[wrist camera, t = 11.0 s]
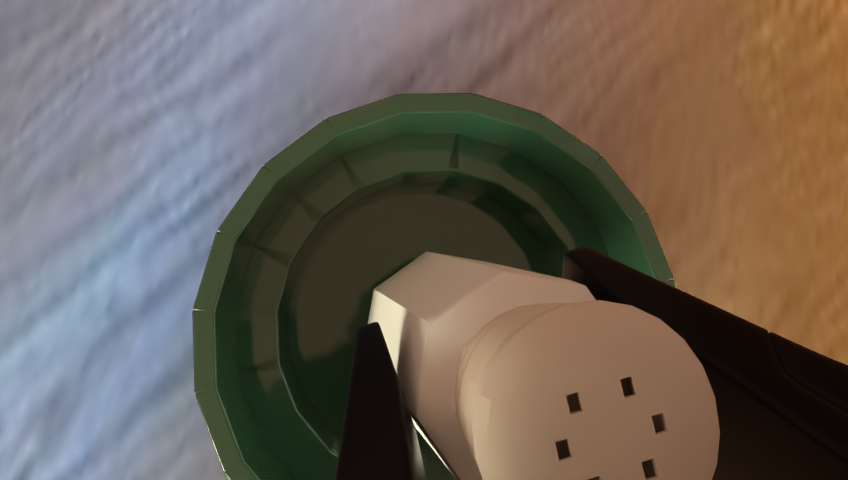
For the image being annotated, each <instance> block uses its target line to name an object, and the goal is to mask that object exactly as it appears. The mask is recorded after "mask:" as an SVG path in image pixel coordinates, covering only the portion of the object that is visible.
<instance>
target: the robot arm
mask: <svg viewBox="0 0 848 480" xmlns="http://www.w3.org/2000/svg"><path fill="white" fill-rule="evenodd" d="M562 278H563V279H567V280H571V281H574V282H577V283H579V284H582V285H585V286H586V287H587V288H588V290H589V291H590V292H591V294H592V295H593V297H594V298H595V299H596V300H602V301H608V302H614V303H620V304H626V305H632V306H634V307H636V308H638V309H640V310H642V311H644V312H646V313H649V314H651V315H653V316H655V317H657V318H659V319H661V320H662V321H663V322H664V323H665V324H667V325H668V326H669V327H670V328H671V329H672V330H674V331H675V332H676V333H677V334H678V335H680V336H681V337H682V338H683V339H684V340H685V341H686V343H687V344H688V346H689V347H690V348H691V350H692V351H693V353H694V354H695V355H696V357H697V358H698V360H699V361H700V362H701V364H702V365H703V367H704V370H705V372H706V375H707V378H708V380H709V383H710V385H711V388H712V390H713V393H714V395H715V400H716V407H717V415H718V422H719V429H720V438H719V449H718V459H717V466H716V469H715V472H714V475H713V478H712V480H848V365H846V364H843V363H841V362H838V361H836V360H833V359H831V358H828V357H826V356H824V355H821V354H819V353H817V352H815V351H812V350H810V349H808V348H806V347H803V346H801V345H799V344H796V343H794V342H792V341H790V340H788V339H785V338H783V337H781V336H779V335H777V334H775V333H772V332H771V333H768V331H767V330H766V329H763V328H761V327H759V326H757V325H755V324H753V323H750V322H748V321H746V320H744V319H742V318H740V317H737V316H735V315H733V314H731V313H729V312H727V311H724V310H722V309H720V308H718V307H716V306H714V305H711V304H709V303H707V302H705V301H703V300H701V299H698V298H696V297H694V296H692V295H690V294H688V293H685V292H683V291H681V290H679V289H677V288H675V287H672V286H670V285H668V284H666V283H664V282H662V281H659V280H657V279H655V278H653V277H651V276H649V275H646V274H644V273H642V272H640V271H638V270H636V269H633V268H631V267H629V266H627V265H625V264H623V263H620V262H618V261H616V260H614V259H612V258H610V257H607V256H605V255H603V254H601V253H599V252H597V251H594V250H592V249H590V248H588V247H584V246H582V247H578V248H575V249H573V250H570V251H567V252H566V253H565V254H564V256H563V272H562ZM335 480H426V475H425V470H424V466H423V461H422V456H421V452H420V447H419V442H418V438H417V434H416V430H415V426H414V423H413V420H412V417H411V415H410V413H409V411H408V409H407V406H406V401H405V397H404V394H403V391H402V388H401V385H400V382H399V379H398V376H397V373H396V370H395V367H394V365H393V362H392V359H391V356H390V353H389V350H388V347H387V344H386V341H385V339H384V336H383V333H382V330H381V327H380V324H379V323H378V322H373V323H370V324H367V325H365V326H362V327H360V328H359V329H358V330H357V334H356V340H355V347H354V353H353V360H352V367H351V373H350V380H349V387H348V393H347V400H346V407H345V414H344V420H343V427H342V434H341V440H340V447H339V454H338V460H337V467H336V474H335Z"/></svg>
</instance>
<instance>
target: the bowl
mask: <svg viewBox="0 0 848 480" xmlns="http://www.w3.org/2000/svg"><path fill="white" fill-rule="evenodd" d="M582 246H584V247H588V248H590V249H592V250H594V251H597V252H599V253H601V254H603V255H605V256H607V257H610V258H612V259H614V260H616V261H618V262H620V263H623V264H625V265H627V266H629V267H631V268H633V269H636V270H638V271H640V272H642V273H644V274H646V275H649V276H651V277H653V278H655V279H657V280H659V281H662V282H664V283H666V284H668V285H670V286H672V287H675V286H674V280H672V279H673V276H672V273H671V271H670V268H669V266H668V263H667V261H666V258H665V256H664V253H663V251H662V248H661V246H660V243H659V241H658V238H657V236H656V233H655V231H654V228H653V226H652V223H651V221H650V218H649V216H648V214H647V213H646V210H645V209H644V208H643V206H642V205H641V204H640V203H639V201H638V200H637V199H636V198H635V196H634V195H633V194H632V193H631V191H630V190H629V189H628V187H627V186H626V185H625V184H624V182H623V181H622V180H621V179H620V177H619V176H618V175H617V174H616V172H615V171H614V170H613V169H612V167H611V166H610V165H609V164H608V162H607V161H606V160H605V159H604V157H602V156H601V155H600V154H599V153H598V152H596V151H595V150H593V149H592V148H590V147H589V146H587V145H586V144H585V143H583V142H582V141H580V140H579V139H577V138H576V137H574V136H573V135H571V134H570V133H568V132H567V131H566V130H564V129H563V128H561V127H560V126H558V125H557V124H555V123H554V122H552V121H551V120H549V119H548V118H547V117H545V116H543V115H542V114H540V113H536V112H533V111H530V110H527V109H523V108H520V107H517V106H513V105H510V104H507V103H504V102H500V101H497V100H494V99H491V98H487V97H484V96H481V95H477V94H472V93H432V94H399V95H394V96H391V97H388V98H385V99H382V100H379V101H376V102H373V103H370V104H367V105H364V106H361V107H358V108H355V109H352V110H349V111H346V112H343V113H340V114H337V115H334V116H332V117H329V118H327V120H323V121H322V122H321V123H319V124H318V125H317V126H315V127H314V128H313V129H311V130H310V131H309V132H307V133H306V134H305V135H303V136H302V137H300V138H299V139H298V140H296V141H295V142H294V143H292V144H291V145H290V146H288V147H287V148H286V149H284V150H283V151H282V152H280V153H279V154H278V155H276V156H275V157H274V158H272V159H271V160H269V161H268V162H267V163H265V165H264V166H263V167H262V168H261V169H260V170H259V172H258V173H257V175H256V176H255V178H254V179H253V180H252V182H251V183H250V185H249V186H248V187H247V189H246V190H245V192H244V193H243V194H242V196H241V197H240V199H239V200H238V202H237V203H236V204H235V206H234V207H233V209H232V210H231V211H230V213H229V214H228V216H227V217H226V218H225V220H224V221H223V223H222V224H221V226H220V227H219V228H218V232H217V233H216V235H215V238H214V241H213V244H212V248H211V251H210V254H209V258H208V261H207V264H206V267H205V271H204V274H203V277H202V280H201V284H200V287H199V290H198V293H197V297H196V300H195V303H194V307H193V310H194V311H193V312H192V316H193V354H194V391H195V393H196V399H197V401H198V404H199V407H200V410H201V412H202V415H203V418H204V420H205V423H206V426H207V428H208V431H209V434H210V436H211V439H212V442H213V444H214V447H215V450H216V453H217V455H218V458H219V461H220V463H221V466H222V469H223V471H225V475H226V476H227V477H228V478H229V480H335V474H336V467H337V460H338V454H339V447H340V440H341V434H342V427H343V420H344V414H345V407H346V400H347V393H348V387H349V380H350V373H351V367H352V360H353V353H354V347H355V340H356V334H357V330H358V329H359V328H360V327H362V326H365V325H367V324H368V319H369V313H370V308H371V302H372V296H373V290H374V288H376V287H377V286H379V285H380V284H381V283H383V282H384V281H386V280H387V279H388V278H390V277H391V276H393V275H394V274H395V273H397V272H398V271H400V270H401V269H402V268H404V267H405V266H407V265H408V264H409V263H411V262H412V261H414V260H415V259H416V258H418V257H419V256H421V255H422V254H423V253H425V252H426V251H427V252H433V253H438V254H444V255H450V256H456V257H461V258H467V259H473V260H479V261H484V262H490V263H494V264H499V265H504V266H508V267H513V268H517V269H522V270H526V271H531V272H536V273H540V274H545V275H549V276H554V277H558V278H562V272H563V256H564V254H565V253H566V252H567V251H570V250H573V249H575V248H578V247H582ZM415 430H416V434H417V438H418V442H419V447H420V452H421V456H422V461H423V466H424V470H425V475H426V480H457V479H456V478H455V477H454V476H453V474H452V473H451V472H450V471H449V469H448V468H447V467H446V466H445V464H444V463H443V462H442V460H441V459H440V458H439V457H438V455H437V454H436V453H435V452H434V450H433V449H432V448H431V447H430V445H429V444H428V443H427V441H426V440H425V439H424V438H423V436H422V435H421V434H420V433H419V431H418V430H417V429H416V427H415Z"/></svg>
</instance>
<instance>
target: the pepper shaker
mask: <svg viewBox="0 0 848 480" xmlns="http://www.w3.org/2000/svg"><path fill="white" fill-rule="evenodd" d="M373 322H378V323H379V324H380V327H381V330H382V333H383V336H384V339H385V341H386V344H387V347H388V350H389V353H390V356H391V359H392V362H393V365H394V367H395V370H396V373H397V376H398V379H399V382H400V385H401V388H402V391H403V394H404V397H405V401H406V406H407V409H408V411H409V413H410V415H411V417H412V420H413V423H414V426H415V427H416V429H417V430H418V431H419V433H420V434H421V435H422V436H423V438H424V439H425V440H426V441H427V443H428V444H429V445H430V447H431V448H432V449H433V450H434V452H435V453H436V454H437V455H438V457H439V458H440V459H441V460H442V462H443V463H444V464H445V466H446V467H447V468H448V469H449V471H450V472H451V473H452V474H453V476H454V477H455V478H456V479H457V480H712V478H713V475H714V472H715V469H716V466H717V459H718V449H719V438H720V429H719V422H718V415H717V407H716V400H715V395H714V393H713V390H712V388H711V385H710V383H709V380H708V378H707V375H706V372H705V370H704V367H703V365H702V364H701V362H700V361H699V360H698V358H697V357H696V355H695V354H694V353H693V351H692V350H691V348H690V347H689V346H688V344H687V343H686V341H685V340H684V339H683V338H682V337H681V336H680V335H678V334H677V333H676V332H675V331H674V330H672V329H671V328H670V327H669V326H668V325H667V324H665V323H664V322H663V321H662V320H661V319H659V318H657V317H655V316H653V315H651V314H649V313H646V312H644V311H642V310H640V309H638V308H636V307H634V306H632V305H626V304H620V303H614V302H608V301H602V300H596V299H595V298H594V297H593V295H592V294H591V292H590V291H589V290H588V288H587V287H586V286H585V285H582V284H579V283H577V282H574V281H571V280H567V279H563V278H558V277H554V276H549V275H545V274H540V273H536V272H531V271H526V270H522V269H517V268H513V267H508V266H504V265H499V264H494V263H490V262H484V261H479V260H473V259H467V258H461V257H456V256H450V255H444V254H438V253H433V252H427V251H426V252H425V253H423V254H422V255H421V256H419V257H418V258H416V259H415V260H414V261H412V262H411V263H409V264H408V265H407V266H405V267H404V268H402V269H401V270H400V271H398V272H397V273H395V274H394V275H393V276H391V277H390V278H388V279H387V280H386V281H384V282H383V283H381V284H380V285H379V286H377V287H376V288H374V290H373V296H372V302H371V308H370V313H369V319H368V324H370V323H373Z"/></svg>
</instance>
